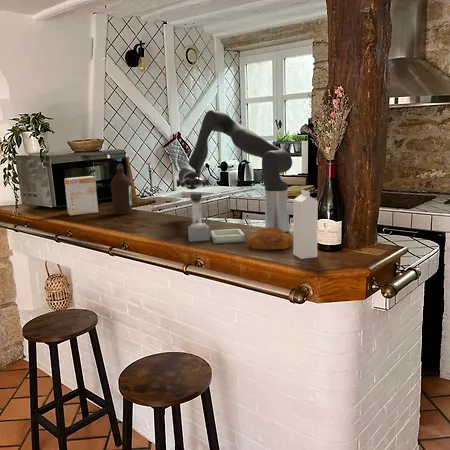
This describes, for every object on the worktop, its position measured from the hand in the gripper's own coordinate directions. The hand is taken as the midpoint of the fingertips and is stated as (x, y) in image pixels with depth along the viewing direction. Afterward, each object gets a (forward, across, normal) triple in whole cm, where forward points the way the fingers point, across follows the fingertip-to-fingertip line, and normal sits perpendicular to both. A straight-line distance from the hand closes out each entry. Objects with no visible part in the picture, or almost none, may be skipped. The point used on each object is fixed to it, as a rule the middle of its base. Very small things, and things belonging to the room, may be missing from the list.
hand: (193, 184), depth 198 cm
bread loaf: (+36, +25, +20) cm, 48 cm away
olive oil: (-52, -35, +20) cm, 66 cm away
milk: (+52, +33, +20) cm, 64 cm away
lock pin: (+11, 0, +20) cm, 23 cm away
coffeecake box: (-59, -57, +20) cm, 85 cm away
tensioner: (+14, 0, +20) cm, 24 cm away
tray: (+21, +11, +20) cm, 31 cm away
